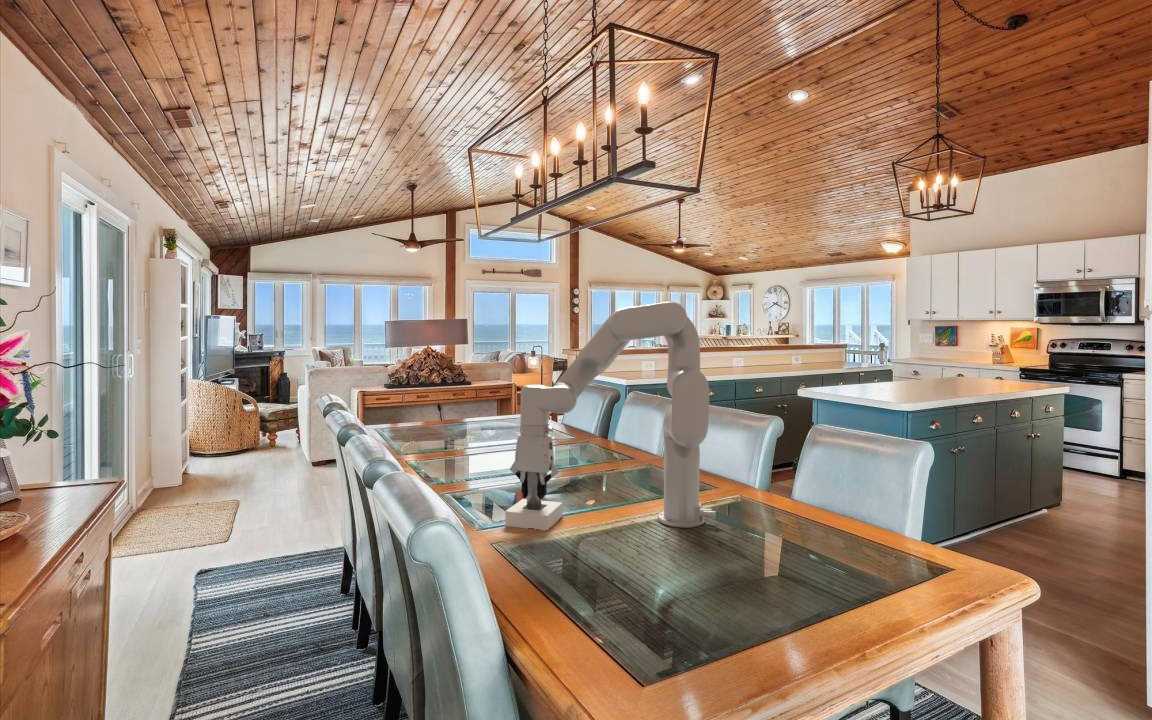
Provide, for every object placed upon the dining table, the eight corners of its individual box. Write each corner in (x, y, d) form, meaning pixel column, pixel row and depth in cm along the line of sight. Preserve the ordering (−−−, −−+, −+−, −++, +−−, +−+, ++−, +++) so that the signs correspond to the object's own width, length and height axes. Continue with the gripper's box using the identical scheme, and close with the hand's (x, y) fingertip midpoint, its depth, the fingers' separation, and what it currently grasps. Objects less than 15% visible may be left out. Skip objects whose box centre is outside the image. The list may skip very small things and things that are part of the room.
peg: (543, 506, 165) (543, 463, 164) (538, 510, 161) (538, 466, 160) (529, 505, 166) (530, 462, 165) (524, 509, 162) (524, 465, 161)
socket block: (562, 516, 167) (562, 502, 167) (547, 530, 156) (547, 515, 156) (523, 512, 171) (523, 498, 171) (505, 525, 160) (505, 511, 159)
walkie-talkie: (545, 512, 173) (542, 492, 192) (545, 497, 172) (542, 479, 192) (514, 513, 172) (514, 493, 192) (514, 498, 171) (514, 479, 191)
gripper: (568, 430, 163) (567, 496, 164) (511, 426, 168) (511, 490, 169) (558, 434, 156) (558, 503, 157) (500, 430, 161) (500, 497, 162)
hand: (533, 496), depth 163 cm, fingers closed on peg, 4 cm apart
